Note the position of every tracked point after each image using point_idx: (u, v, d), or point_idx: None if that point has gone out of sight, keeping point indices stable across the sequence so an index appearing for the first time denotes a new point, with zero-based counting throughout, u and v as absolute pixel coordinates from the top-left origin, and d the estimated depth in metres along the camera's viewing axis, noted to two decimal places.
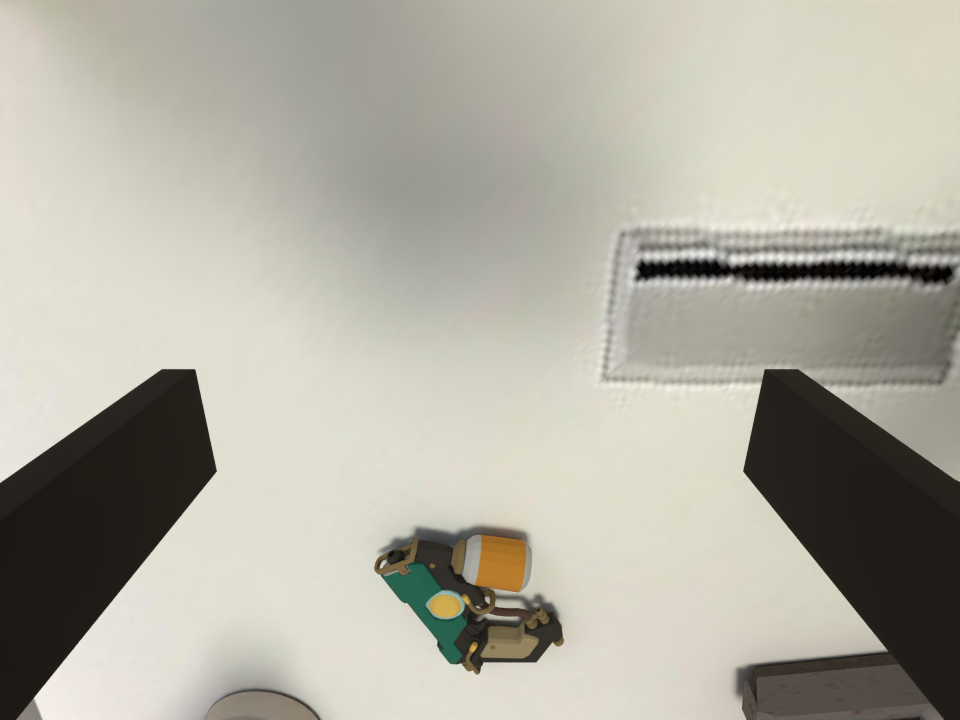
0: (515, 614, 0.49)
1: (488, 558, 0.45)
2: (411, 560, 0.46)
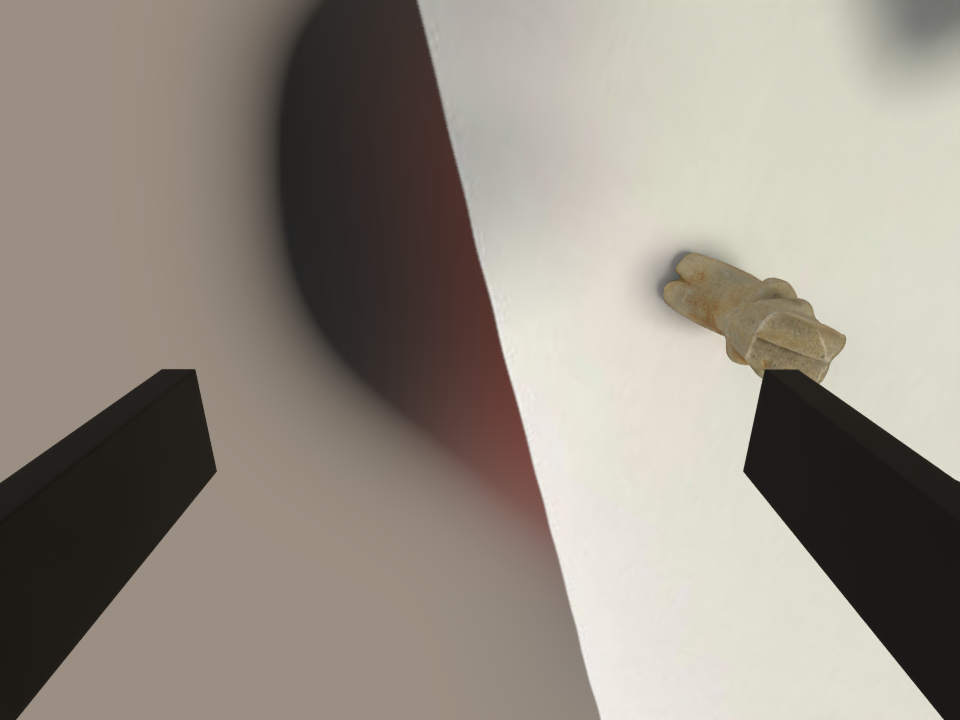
0: None
1: None
2: None
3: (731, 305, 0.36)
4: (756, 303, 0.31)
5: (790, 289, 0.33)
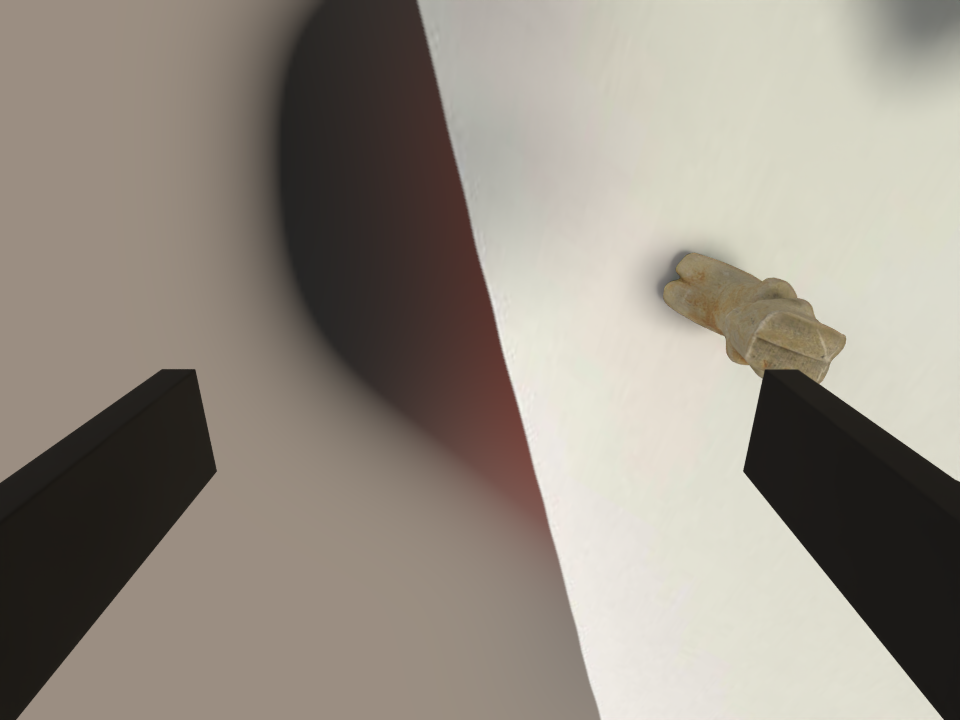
0: None
1: None
2: None
3: (731, 305, 0.36)
4: (756, 303, 0.31)
5: (790, 289, 0.33)
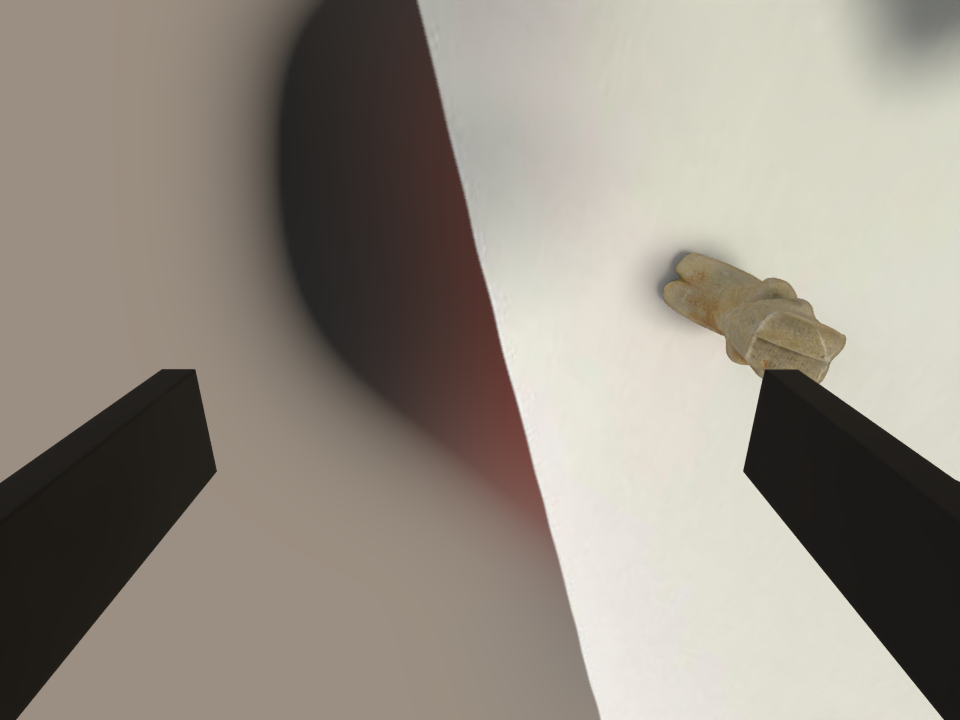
0: None
1: None
2: None
3: (731, 305, 0.36)
4: (756, 303, 0.31)
5: (790, 289, 0.33)
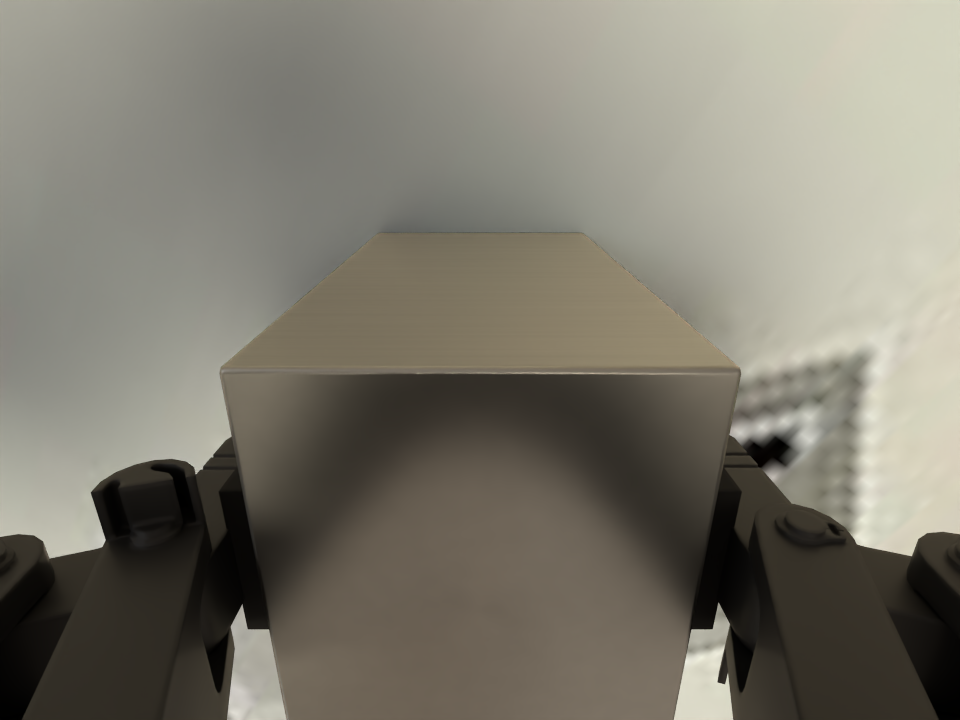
0: None
1: None
2: None
3: None
4: None
5: None
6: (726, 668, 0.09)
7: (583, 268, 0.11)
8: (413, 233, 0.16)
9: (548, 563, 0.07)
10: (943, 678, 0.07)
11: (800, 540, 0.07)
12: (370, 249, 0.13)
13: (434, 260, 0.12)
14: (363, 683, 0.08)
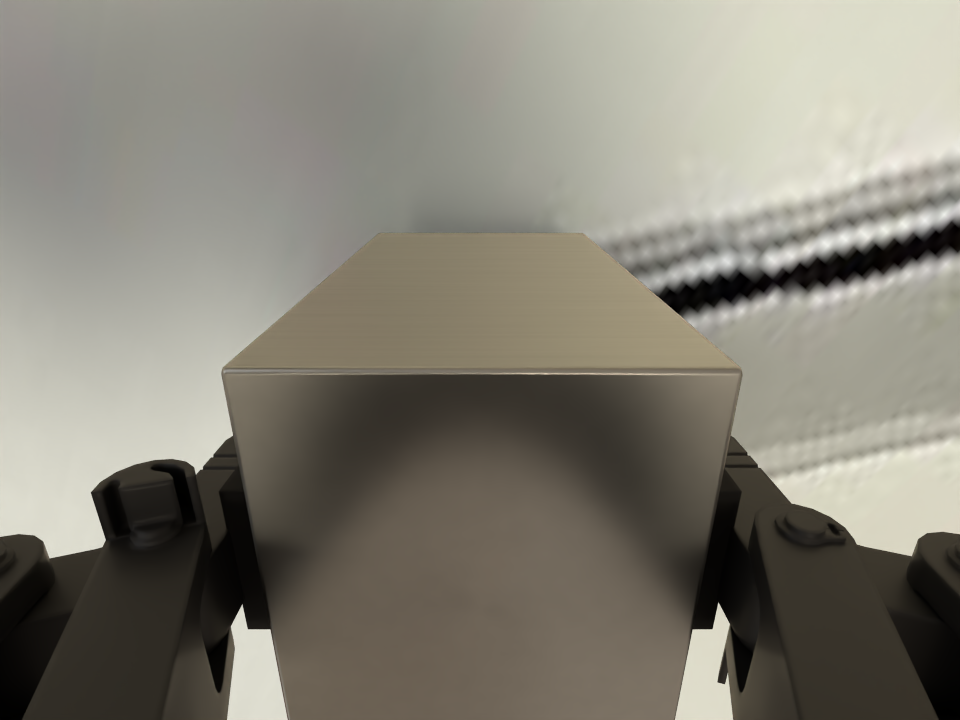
0: None
1: None
2: None
3: None
4: None
5: None
6: (726, 668, 0.09)
7: (584, 268, 0.11)
8: (414, 233, 0.16)
9: (549, 564, 0.07)
10: (943, 678, 0.07)
11: (800, 539, 0.07)
12: (371, 249, 0.13)
13: (435, 260, 0.12)
14: (364, 682, 0.08)
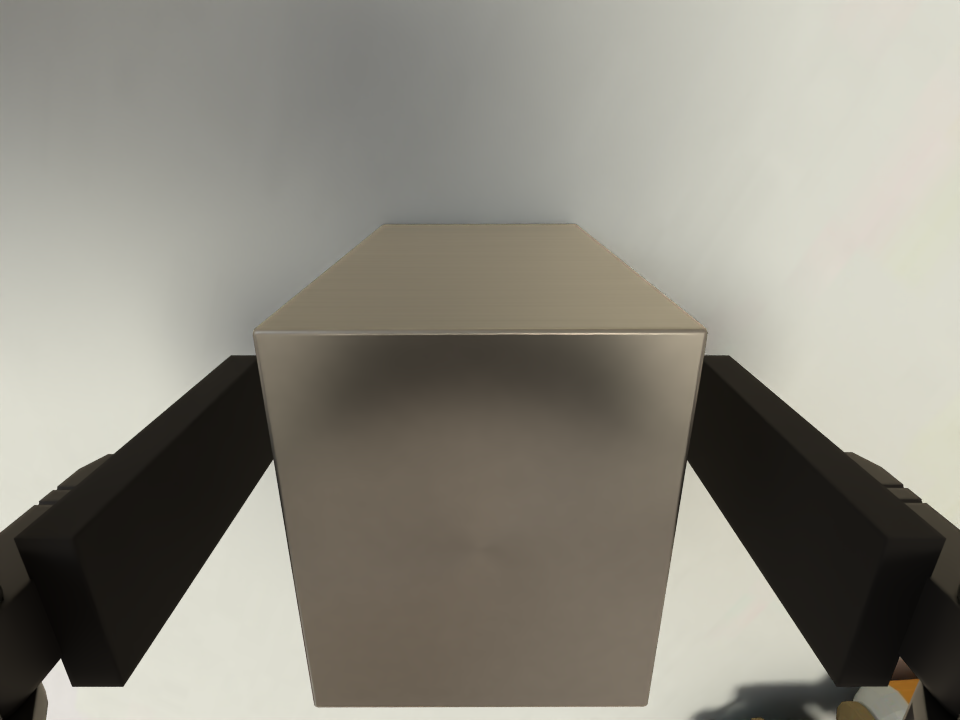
0: None
1: None
2: None
3: None
4: None
5: None
6: None
7: (574, 253, 0.12)
8: (416, 224, 0.17)
9: (541, 508, 0.08)
10: None
11: None
12: (376, 238, 0.14)
13: (437, 247, 0.13)
14: (376, 620, 0.09)
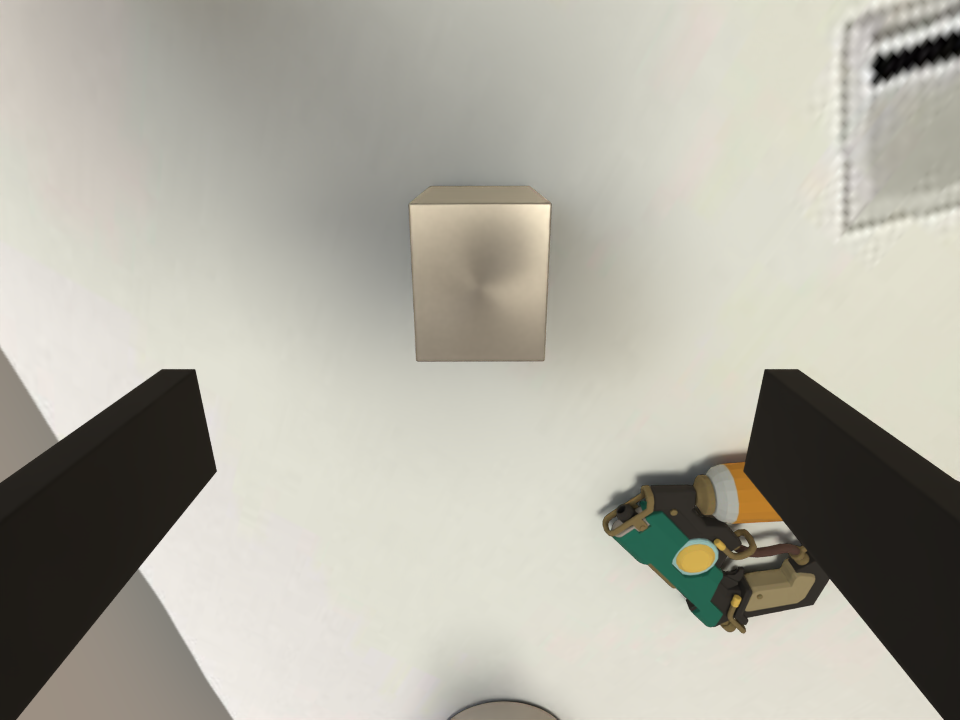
0: (781, 551, 0.40)
1: (746, 486, 0.37)
2: (650, 510, 0.38)
3: None
4: None
5: None
6: None
7: (521, 192, 0.28)
8: (447, 186, 0.33)
9: (500, 269, 0.24)
10: None
11: None
12: (431, 189, 0.30)
13: (460, 191, 0.29)
14: (442, 318, 0.25)
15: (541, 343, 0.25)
